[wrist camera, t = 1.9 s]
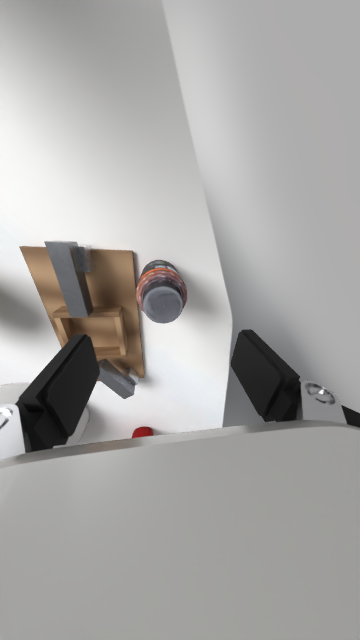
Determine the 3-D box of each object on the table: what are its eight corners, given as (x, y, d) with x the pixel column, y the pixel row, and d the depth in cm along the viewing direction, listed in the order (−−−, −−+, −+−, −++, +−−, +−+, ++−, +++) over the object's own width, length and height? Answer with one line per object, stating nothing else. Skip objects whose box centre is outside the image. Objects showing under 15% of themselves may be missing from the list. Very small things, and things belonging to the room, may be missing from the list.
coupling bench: (24, 246, 20) (2, 248, 17) (132, 250, 22) (128, 252, 19) (78, 379, 33) (70, 393, 30) (144, 374, 35) (142, 387, 32)
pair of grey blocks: (61, 240, 20) (36, 241, 16) (123, 243, 21) (115, 244, 17) (102, 382, 33) (95, 402, 29) (139, 380, 34) (137, 399, 30)
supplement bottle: (155, 302, 26) (154, 341, 17) (133, 272, 24) (117, 298, 14) (184, 284, 26) (202, 314, 16) (166, 251, 23) (173, 263, 13)
